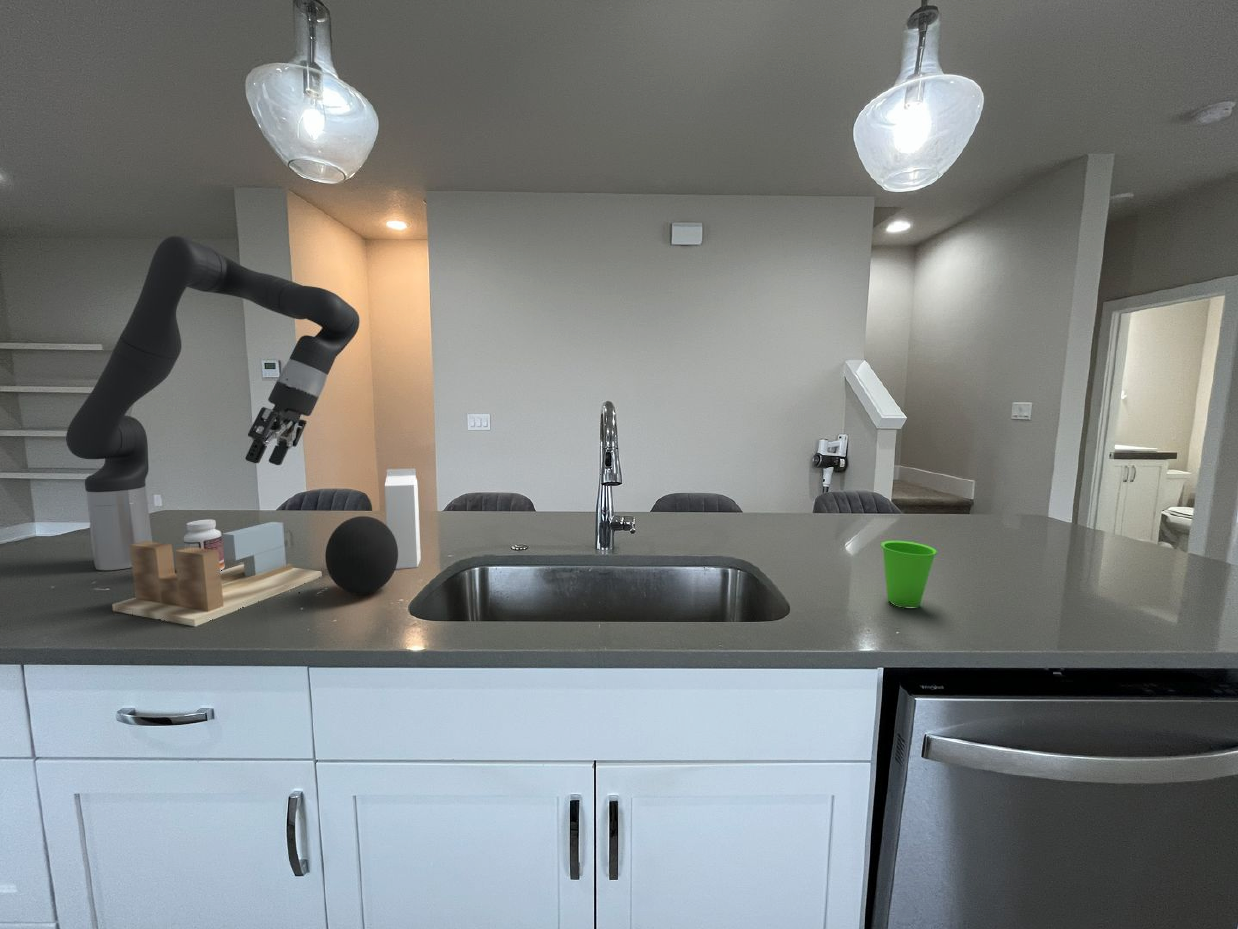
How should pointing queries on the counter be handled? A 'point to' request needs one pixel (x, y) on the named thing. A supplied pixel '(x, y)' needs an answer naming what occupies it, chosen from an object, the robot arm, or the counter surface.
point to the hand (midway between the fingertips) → (263, 463)
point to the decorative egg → (361, 555)
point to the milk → (403, 515)
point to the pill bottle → (205, 537)
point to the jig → (198, 584)
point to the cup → (906, 571)
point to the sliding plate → (256, 547)
